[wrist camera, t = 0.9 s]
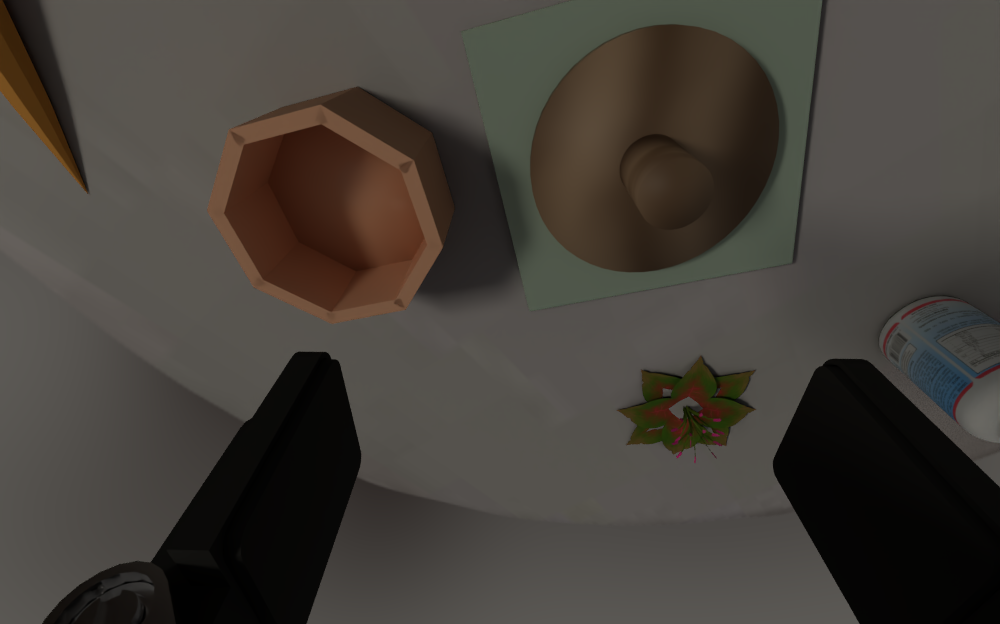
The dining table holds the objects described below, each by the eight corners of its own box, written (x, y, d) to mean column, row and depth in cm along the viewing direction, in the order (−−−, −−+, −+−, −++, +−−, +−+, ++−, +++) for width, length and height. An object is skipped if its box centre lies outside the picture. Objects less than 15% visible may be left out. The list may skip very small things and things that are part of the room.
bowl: (413, 71, 26) (388, 85, 21) (469, 253, 32) (460, 299, 27) (230, 121, 28) (167, 146, 23) (316, 285, 34) (281, 333, 29)
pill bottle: (920, 367, 36) (1061, 492, 27) (857, 345, 35) (980, 467, 26) (988, 306, 33) (1175, 424, 24) (921, 280, 32) (1088, 392, 23)
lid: (781, -11, 23) (855, -16, 18) (762, 242, 30) (811, 288, 25) (506, 63, 25) (504, 78, 20) (551, 282, 32) (558, 333, 27)
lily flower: (776, 350, 36) (806, 390, 33) (736, 451, 43) (757, 495, 39) (622, 349, 37) (635, 389, 33) (606, 450, 43) (615, 492, 40)
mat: (823, -72, 22) (830, -74, 22) (787, 259, 32) (792, 263, 31) (462, 31, 25) (461, 31, 24) (529, 307, 34) (529, 311, 34)
